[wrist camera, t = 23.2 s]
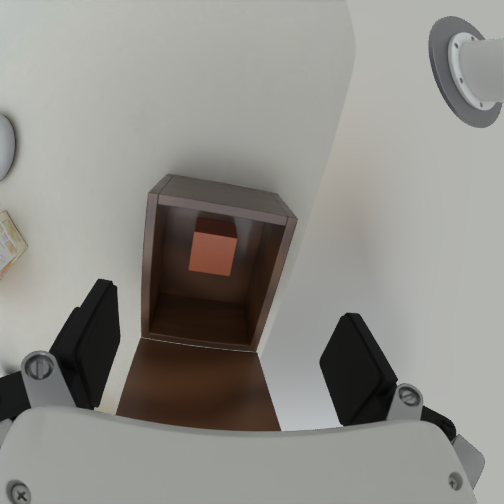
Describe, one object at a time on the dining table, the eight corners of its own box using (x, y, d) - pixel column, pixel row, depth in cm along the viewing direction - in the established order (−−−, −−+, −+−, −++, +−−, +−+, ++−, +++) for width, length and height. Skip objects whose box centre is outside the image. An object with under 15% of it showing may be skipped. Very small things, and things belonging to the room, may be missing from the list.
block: (197, 217, 31) (194, 231, 27) (235, 223, 32) (238, 238, 28) (191, 252, 33) (188, 270, 29) (227, 257, 34) (229, 276, 30)
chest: (166, 173, 30) (148, 192, 22) (277, 193, 32) (298, 218, 24) (154, 292, 36) (141, 337, 28) (248, 306, 38) (256, 352, 30)
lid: (101, 465, 12) (114, 496, 13) (297, 479, 14) (277, 507, 15) (140, 337, 27) (140, 374, 29) (257, 352, 30) (247, 387, 31)
